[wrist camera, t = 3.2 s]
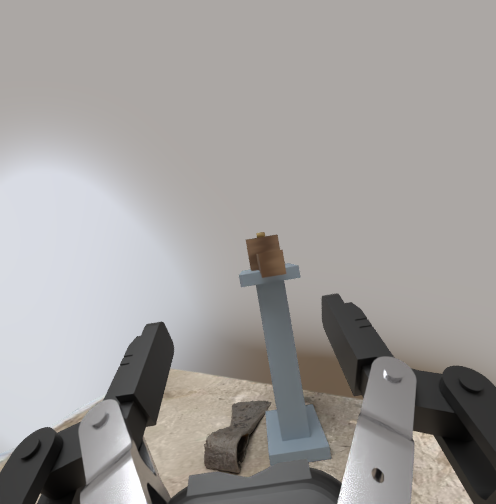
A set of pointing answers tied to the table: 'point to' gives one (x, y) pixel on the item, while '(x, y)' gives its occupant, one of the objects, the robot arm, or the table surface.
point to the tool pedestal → (285, 376)
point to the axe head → (233, 437)
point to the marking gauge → (266, 255)
